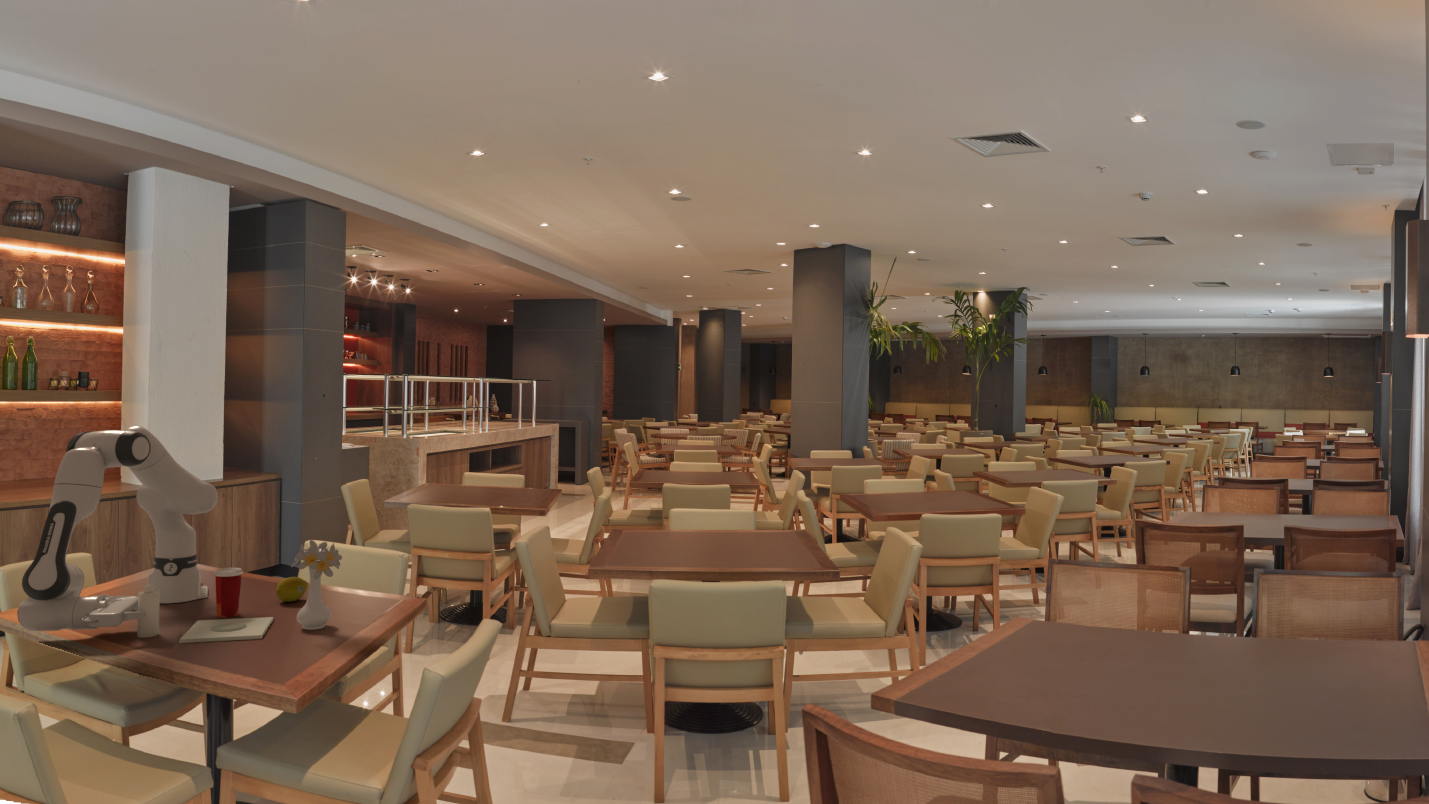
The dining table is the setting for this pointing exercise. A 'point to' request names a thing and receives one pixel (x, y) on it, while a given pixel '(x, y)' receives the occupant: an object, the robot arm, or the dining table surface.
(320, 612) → the flower vase
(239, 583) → the paper cup
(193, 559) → the robot arm
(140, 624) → the cream bottle
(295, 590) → the lemon
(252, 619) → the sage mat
